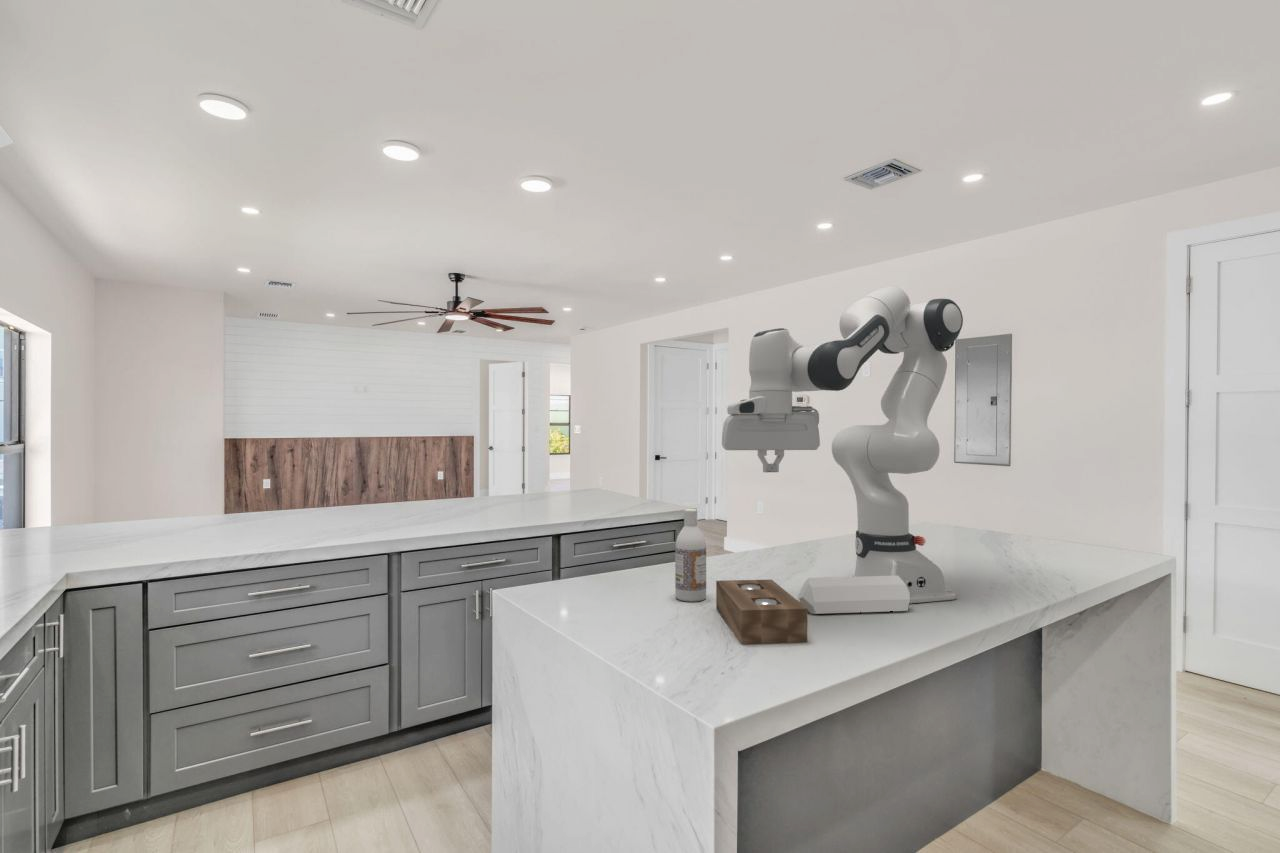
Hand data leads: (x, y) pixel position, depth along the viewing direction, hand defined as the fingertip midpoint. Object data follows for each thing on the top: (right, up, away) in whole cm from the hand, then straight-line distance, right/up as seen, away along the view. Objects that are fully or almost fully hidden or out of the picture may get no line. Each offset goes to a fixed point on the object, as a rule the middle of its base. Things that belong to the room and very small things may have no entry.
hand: (770, 472), depth 132 cm
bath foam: (-16, -29, +11) cm, 35 cm away
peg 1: (-5, -29, -3) cm, 29 cm away
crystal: (+18, -30, +2) cm, 35 cm away
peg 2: (-4, -29, -14) cm, 32 cm away
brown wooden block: (-4, -29, -8) cm, 31 cm away
